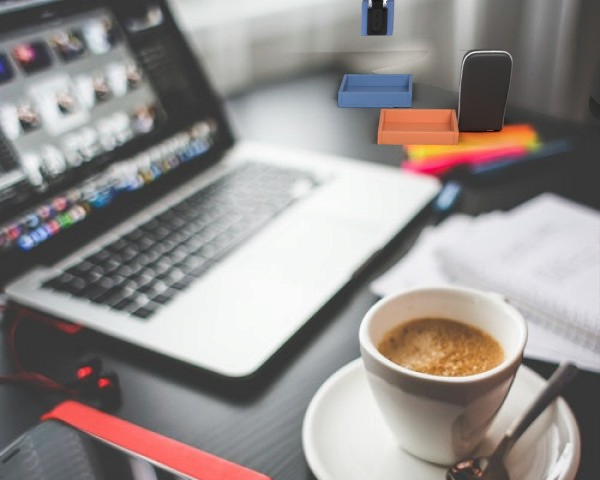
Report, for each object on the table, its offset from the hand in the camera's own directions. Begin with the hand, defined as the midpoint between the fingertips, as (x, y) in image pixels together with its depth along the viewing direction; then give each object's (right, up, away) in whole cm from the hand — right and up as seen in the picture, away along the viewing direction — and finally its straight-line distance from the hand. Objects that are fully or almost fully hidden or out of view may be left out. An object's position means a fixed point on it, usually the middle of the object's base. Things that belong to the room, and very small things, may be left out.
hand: (377, 29), depth 103 cm
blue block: (0, 0, 0) cm, 0 cm away
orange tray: (+5, -20, -10) cm, 23 cm away
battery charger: (+14, -19, -8) cm, 25 cm away
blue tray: (+1, -9, +6) cm, 11 cm away
